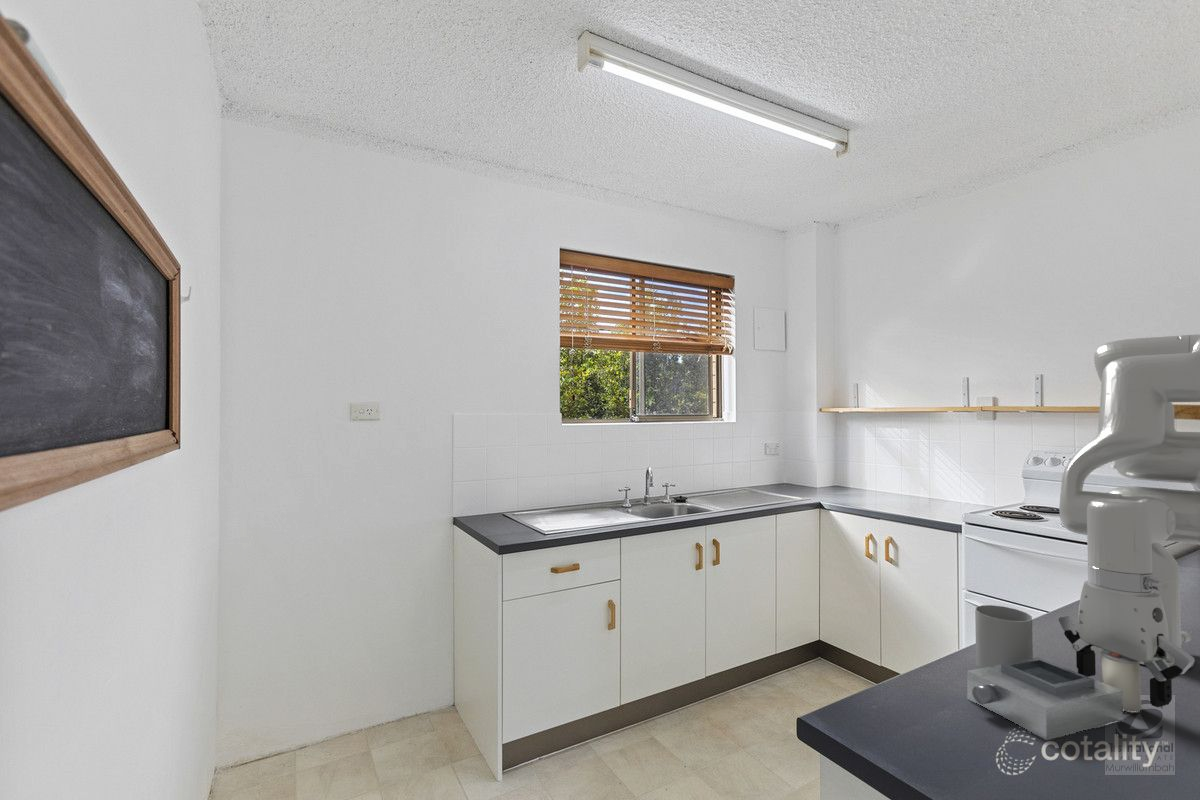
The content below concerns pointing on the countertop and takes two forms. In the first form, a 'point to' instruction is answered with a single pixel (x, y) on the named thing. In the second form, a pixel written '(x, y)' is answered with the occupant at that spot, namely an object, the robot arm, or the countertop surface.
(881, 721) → the countertop surface
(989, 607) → the cup
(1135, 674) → the cream white cylinder
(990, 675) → the grey holder block
